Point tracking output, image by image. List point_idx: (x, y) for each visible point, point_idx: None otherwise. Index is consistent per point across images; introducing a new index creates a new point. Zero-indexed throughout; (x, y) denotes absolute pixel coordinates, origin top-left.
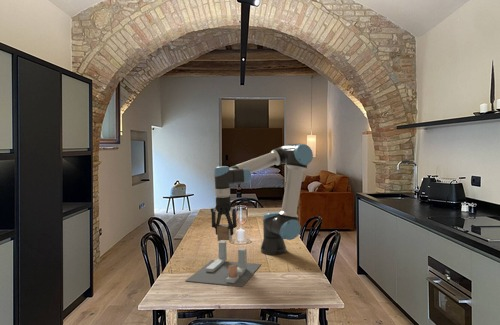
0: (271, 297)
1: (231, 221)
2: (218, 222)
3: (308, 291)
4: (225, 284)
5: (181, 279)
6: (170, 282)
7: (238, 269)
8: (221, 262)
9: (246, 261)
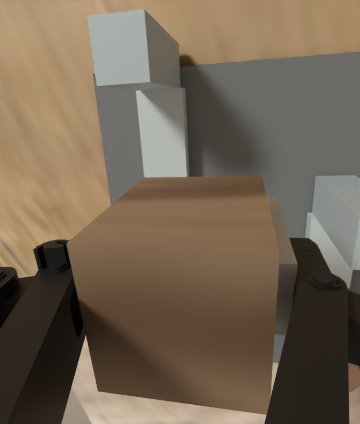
0: None
1: (346, 390)
2: (65, 401)
3: None
4: None
5: None
6: (88, 355)
7: (325, 251)
8: (186, 153)
9: None
